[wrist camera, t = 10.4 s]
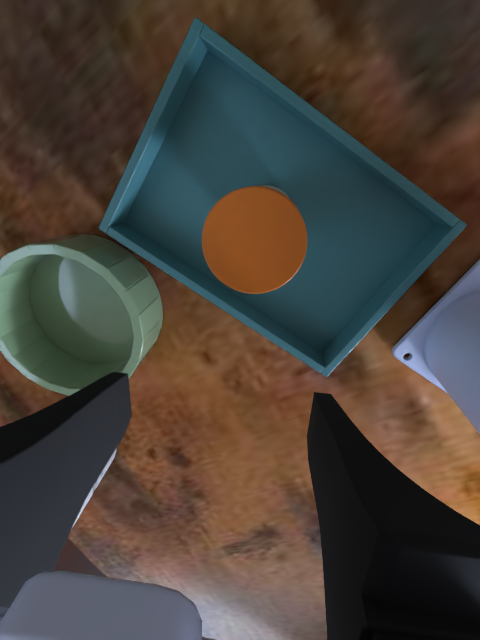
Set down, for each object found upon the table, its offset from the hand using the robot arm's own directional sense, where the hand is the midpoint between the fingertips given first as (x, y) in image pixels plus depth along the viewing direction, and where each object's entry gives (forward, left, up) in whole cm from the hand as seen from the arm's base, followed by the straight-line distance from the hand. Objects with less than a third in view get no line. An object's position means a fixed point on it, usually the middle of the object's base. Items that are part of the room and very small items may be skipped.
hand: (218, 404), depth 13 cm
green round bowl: (+9, +6, -10) cm, 15 cm away
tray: (+2, -6, -10) cm, 12 cm away
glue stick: (+2, -6, -10) cm, 12 cm away
